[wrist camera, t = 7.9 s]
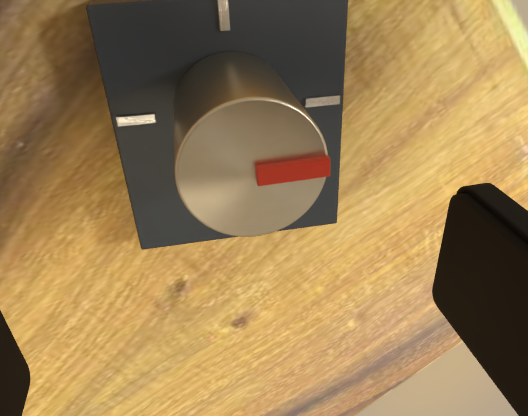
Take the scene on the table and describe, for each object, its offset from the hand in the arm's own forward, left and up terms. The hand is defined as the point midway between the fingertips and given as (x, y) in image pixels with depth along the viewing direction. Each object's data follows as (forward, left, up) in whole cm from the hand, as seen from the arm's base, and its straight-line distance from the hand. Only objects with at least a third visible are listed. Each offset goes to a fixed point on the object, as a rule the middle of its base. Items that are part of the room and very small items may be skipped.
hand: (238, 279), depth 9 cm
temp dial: (0, +1, -10) cm, 10 cm away
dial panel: (+1, +1, -12) cm, 12 cm away
